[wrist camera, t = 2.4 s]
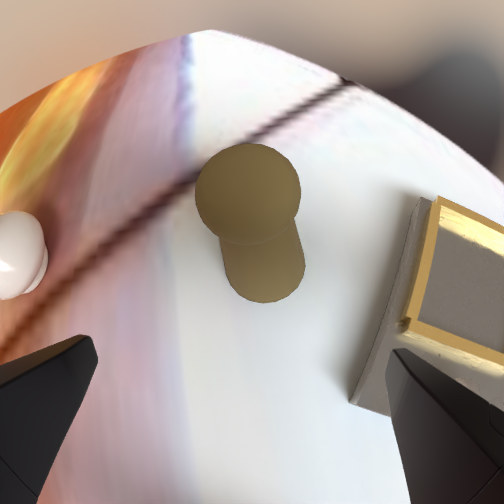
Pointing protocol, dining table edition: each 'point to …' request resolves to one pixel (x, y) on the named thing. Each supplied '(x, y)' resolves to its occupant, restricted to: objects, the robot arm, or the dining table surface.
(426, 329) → the grey base with knob
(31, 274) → the flower vase
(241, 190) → the cork
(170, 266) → the dining table surface
